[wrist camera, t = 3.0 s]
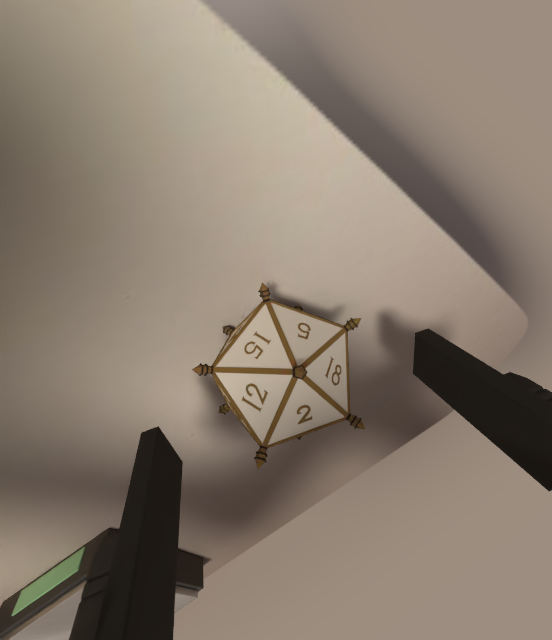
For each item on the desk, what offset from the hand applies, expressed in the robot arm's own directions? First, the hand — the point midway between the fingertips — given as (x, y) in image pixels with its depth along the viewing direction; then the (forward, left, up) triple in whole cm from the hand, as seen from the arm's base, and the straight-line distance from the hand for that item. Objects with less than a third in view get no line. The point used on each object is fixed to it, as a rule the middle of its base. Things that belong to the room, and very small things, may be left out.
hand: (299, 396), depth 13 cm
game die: (0, 0, -6) cm, 6 cm away
